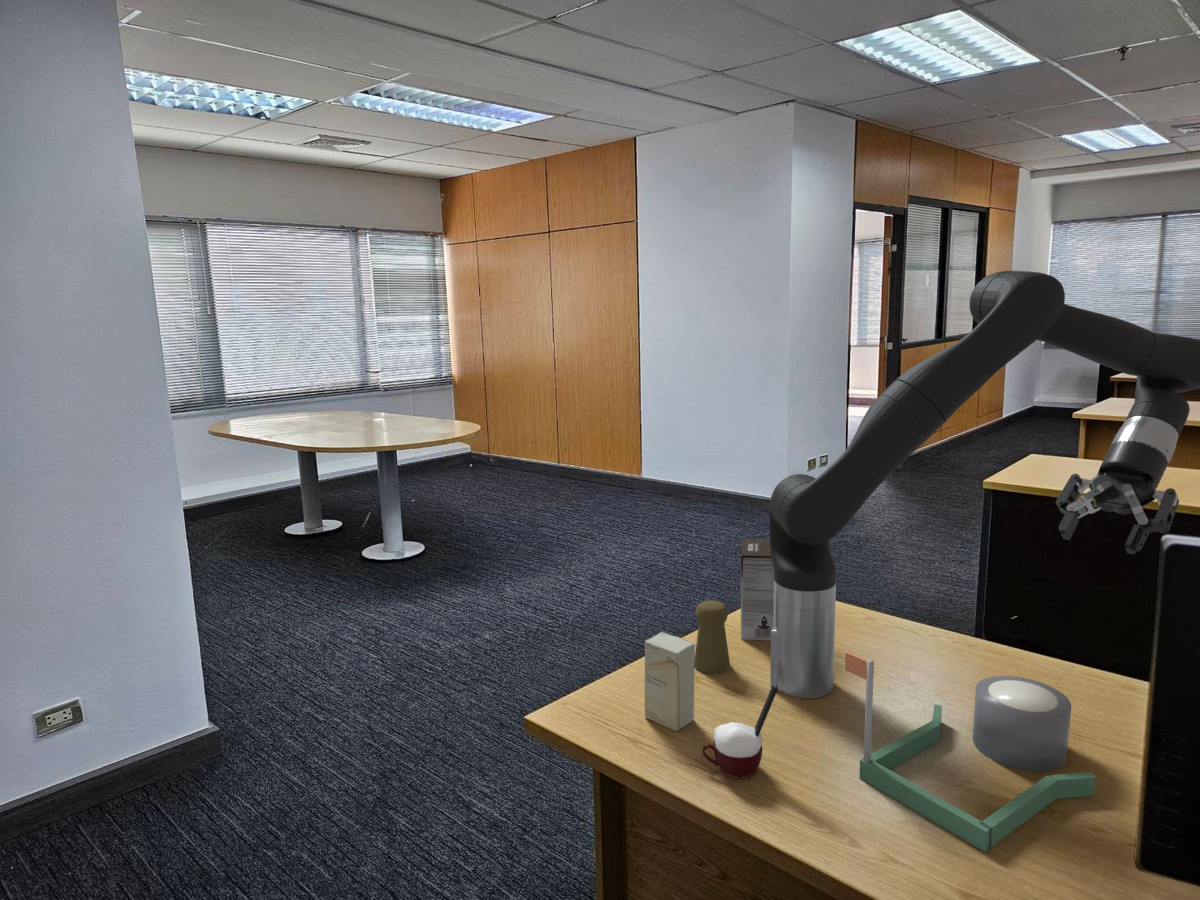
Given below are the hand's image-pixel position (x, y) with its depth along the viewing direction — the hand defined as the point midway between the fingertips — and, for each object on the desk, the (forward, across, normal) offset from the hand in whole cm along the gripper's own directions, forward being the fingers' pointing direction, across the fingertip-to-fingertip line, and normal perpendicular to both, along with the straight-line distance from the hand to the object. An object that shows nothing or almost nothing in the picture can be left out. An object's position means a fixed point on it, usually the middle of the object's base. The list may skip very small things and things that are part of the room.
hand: (1095, 543), depth 110 cm
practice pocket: (+40, +1, -7) cm, 41 cm away
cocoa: (+55, -17, -22) cm, 61 cm away
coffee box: (+32, -46, +2) cm, 56 cm away
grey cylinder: (+31, +2, +2) cm, 31 cm away
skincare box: (+54, -32, -21) cm, 66 cm away
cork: (+43, -41, -10) cm, 60 cm away
